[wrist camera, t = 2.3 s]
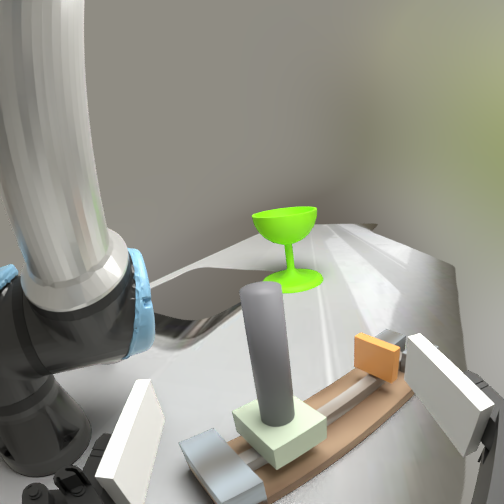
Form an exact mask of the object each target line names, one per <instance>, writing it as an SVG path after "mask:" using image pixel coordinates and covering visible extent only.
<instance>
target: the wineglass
mask: <svg viewBox="0 0 504 504" xmlns="http://www.w3.org/2000/svg"><path fill="white" fill-rule="evenodd" d="M316 217H317V208H316V207H289V208H280V209H274V210H269V211H263V212H259V213H256V214H254V215H252V219H253V222H254V225H255V227H256V229H257V230H258V232H259V233H260V234H261V235H262V236H263V237H264V238H266V239H267V240H269V241H271V242H273V243H277V244H282V245H285V254H286V263H287V269H286V270H283V271H279V272H275V273H273V274H271V275H269V276H267V277H266V278H265V279H264V280H263V281H273V282H277V283H279V284H281V286H282V293H295V292H302V291H306V290H309V289H312V288H315V287H316V286H318V285H320V284H321V283H322V282H323V277H322V275H321V274H320V273H318V272H317V271H314V270H310V269H295V267H294V258H293V249H292V244H293V243H296V242H298V241H300V240H302V239H303V238H305V237H306V236H307V235H308V234H309V233H310V231H311V230H312V228H313V226H314V224H315V220H316Z"/></svg>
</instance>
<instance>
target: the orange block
mask: <svg viewBox="0 0 504 504" xmlns="http://www.w3.org/2000/svg"><path fill="white" fill-rule="evenodd" d="M399 358H400V347H398V346H396V345H393V344H390V343H388V342H385V341H382V340H379V339H377V338H374V337H371V336H369V335H366V334H363V333H359V334H358V335H356V336H355V346H354V367H356V368H358V369H360V370H363V371H365V372H367V373H369V374H371V375H373V376H376V377H378V378H380V379H382V380H384V381H387V382H389V383H391V384H392V383H393V382H394V381H395V380H396V379H397V376H398V367H399Z"/></svg>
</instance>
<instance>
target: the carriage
mask: <svg viewBox="0 0 504 504" xmlns="http://www.w3.org/2000/svg"><path fill="white" fill-rule="evenodd" d="M239 293H240V298H241V305H242V311H243V317H244V323H245V329H246V335H247V341H248V347H249V353H250V359H251V365H252V371H253V376H254V382H255V388H256V394H257V399H256V400H254V401H252V402H250V403H248V404H246V405H244V406H242V407H240V408H238V409H236V410H233V411H232V414H233V418H234V422H235V426H236V430H237V432H238V433H239V434H240V435H241V436H242V437H243V438H244V439H245V440H246V441H247V442H248V443H249V444H250V445H251V446H252V447H253V448H254V449H255V450H256V451H257V452H258V453H259V454H260V455H261V456H262V457H263V458H264V459H265V460H266V461H267V462H268V463H270V464H271V465H272V466H273V467H274V468H275V469H276V470H278V469H279V468H281V467H283V466H285V465H286V464H288V463H289V462H291V461H293V460H294V459H296V458H298V457H299V456H301V455H302V454H304V453H305V452H307V451H308V450H310V449H311V448H313V447H314V446H316V445H317V444H319V443H320V442H322V441H323V440H325V439H326V438H327V417H325V416H324V415H322V414H321V413H319V412H318V411H316V410H315V409H313V408H312V407H310V406H309V405H307V404H306V403H304V402H303V401H301V400H300V399H298V398H297V397H295V396H294V395H293V389H292V379H291V369H290V359H289V350H288V340H287V331H286V322H285V313H284V304H283V295H282V286H281V284H279V283H277V282H273V281H262V282H256V283H251V284H248V285H246V286H244V287H242V288H241V289H240V292H239Z"/></svg>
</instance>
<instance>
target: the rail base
mask: <svg viewBox="0 0 504 504" xmlns="http://www.w3.org/2000/svg"><path fill="white" fill-rule="evenodd" d="M374 338H377V339H379V340H382V341H385V342H388V343H390V344H393V345H396V346H398V347H400V358H399V367H398V376H397V379H396V380H395V381H394V382H393V383H392V384H391V383H389V382H387V381H384V380H382V379H380V378H378V377H376V376H373V375H371V374H369V373H367V372H365V371H363V370H360V369H358V368H355V369H353V370H352V371H350V372H349V373H347V374H346V375H344V376H343V377H341V378H340V379H338V380H337V381H335V382H334V383H332V384H331V385H329V386H328V387H326V388H324V389H323V390H321V391H320V392H318V393H316V394H315V395H313V396H312V397H310V398H308V399H307V400H305V401H303V402H304V403H306V404H307V405H309V406H310V407H312V408H313V409H315V410H316V411H318V412H319V413H321V414H322V415H324V416H325V417H327V438H326V439H325V440H323V441H322V442H320V443H319V444H317V445H316V446H314V447H313V448H311V449H310V450H308V451H307V452H305V453H304V454H302V455H301V456H299V457H298V458H296V459H294V460H293V461H291V462H289V463H288V464H286V465H285V466H283V467H281V468H279V469H278V470H276V469H275V468H274V467H273V466H272V465H271V464H270V463H268V462H267V461H266V460H265V459H264V458H263V457H262V456H261V455H260V454H259V453H258V452H257V451H256V450H255V449H254V448H253V447H252V446H251V445H250V444H249V443H248V442H247V441H246V440H245V439H244V438H243V437H242V436H239V437H237V438H235V439H233V440H231V441H229V442H227V443H226V441H225V440H224V439H223V438H222V437H221V436H220V435H219V433H218V432H217V431H216V430H215V429H214V428H212V429H210V430H207V431H205V432H203V433H201V434H198V435H196V436H194V437H191V438H189V439H186V440H184V441H181V442H179V445H180V447H181V450H182V452H183V454H184V456H185V459H186V461H187V463H188V465H189V468H190V469H191V471H192V472H193V474H194V475H195V477H196V478H197V480H198V481H199V482H200V484H201V485H202V487H203V488H204V489H205V491H206V492H207V494H208V495H209V496H210V498H211V499H212V500H213V502H214V503H215V504H272V503H273V502H275V501H277V500H279V499H280V498H282V497H284V496H285V495H287V494H288V493H290V492H292V491H293V490H295V489H296V488H298V487H300V486H301V485H303V484H304V483H306V482H307V481H309V480H310V479H312V478H313V477H315V476H316V475H318V474H319V473H321V472H322V471H323V470H325V469H326V468H328V467H329V466H330V465H332V464H333V463H334V462H336V461H337V460H339V459H340V458H341V457H343V456H344V455H345V454H346V453H348V452H349V451H350V450H352V449H353V448H354V447H355V446H357V445H358V444H359V443H360V442H362V441H363V440H364V439H365V438H367V437H368V436H369V435H370V434H371V433H372V432H374V431H375V430H376V429H377V428H378V427H379V426H381V425H382V424H383V423H384V422H385V421H386V420H387V419H389V418H390V417H391V416H392V415H393V414H394V413H395V412H396V411H397V410H398V409H399V408H401V407H402V406H403V405H404V404H405V403H406V402H407V401H408V400H409V399H410V398H411V397H412V396H413V395H414V394H415V393H414V392H413V390H412V389H411V388H410V386H409V385H408V384H407V383H406V381H405V380H404V374H405V364H406V354H407V349H406V350H405V340H406V335H403V334H400V333H397V332H394V331H391V330H388V329H386V330H384V331H383V332H381V333H380V334H379V335H377V336H376V337H374ZM432 345H433V344H432ZM433 346H435V347H436V348H437V349H438V347H439V346H436V345H433Z"/></svg>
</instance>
